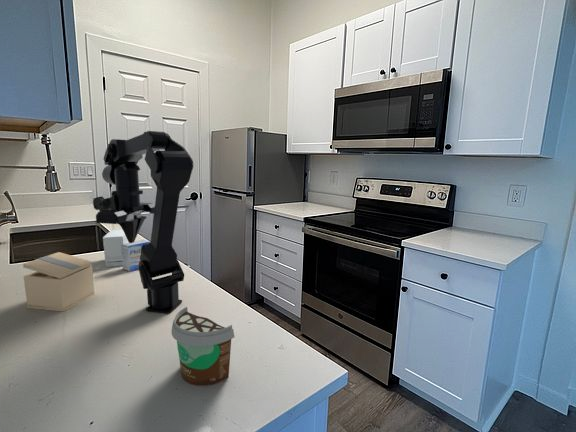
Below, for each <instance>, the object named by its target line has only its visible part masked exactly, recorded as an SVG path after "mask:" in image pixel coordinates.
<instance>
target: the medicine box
mask: <svg viewBox="0 0 576 432" xmlns="http://www.w3.org/2000/svg"><path fill="white" fill-rule="evenodd" d="M150 242H151V240H145V239H142V240H135V241H134V242H133V243H125V244H121V248H122V260H123V266H122V269H123V270H125V271H128V272H133V271H137V270H138V266H139V262H140V256H141V247H142V245H145V244H149V243H150ZM138 271H139V270H138Z"/></svg>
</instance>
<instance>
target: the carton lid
mask: <svg viewBox="0 0 576 432" xmlns="http://www.w3.org/2000/svg"><path fill="white" fill-rule="evenodd" d="M88 266H93V261H90V260H88V259H84V258H81V257H77V256H73V255H71V254H66V253H65V252H60V251H57V252H55V253H51V254H48V255H45V256H41V257H38V258H37V259H34V260H31V261H28V262H25V263H23V264H22V268H24V269H28V270H31V271H34V272H40V273H43V274H47V275H50V276H53V277H57V278H63V277H65V276H67V275H70V274H72V273H74V272H77V271H79V270H81V269H84V268H86V267H88Z"/></svg>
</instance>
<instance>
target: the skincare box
mask: <svg viewBox="0 0 576 432" xmlns="http://www.w3.org/2000/svg"><path fill="white" fill-rule="evenodd" d="M102 243H103V251H104V252H103V253H104V262H105V268H108V267H109V268H111V267H123V260H122V248H121V244H125V243H129V242H128V240H127V238H126V235H125V233H124V231H123V229H117V230H116V229H115V230H109V231H108V233H106V234H105V235H104V236H103V237H102Z"/></svg>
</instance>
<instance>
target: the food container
mask: <svg viewBox="0 0 576 432" xmlns="http://www.w3.org/2000/svg"><path fill="white" fill-rule="evenodd" d="M170 331H171V332H170V333H171V336H172V338H173V339H174V340H175V341H176V344H177V345H176V346H177V352H178V358H179V365H180V373H181V378H182V379H183V380H184V381H185V382H186V383H187V384H190V385H192V386H193V385H194V386H197V387H198V386H199V387H203V386H204V387H205V386H206V387H207V386H211V385H215V384H219V383H221V382H223V381H225V380H226V379H228V378H230V377H229V376H230V364H231V363H230V361H231V350H232V339H234V338H235V331H234V328H233V324H231V325H227V326H226V327H225V326H222V325H220V324H218V323H216V322H215V321H213V320H212V319H209V318H208V317H204V316H200V315H199V316H198V315H196V314H194V313H191V312H189V311H188V306H185V307H184V308H182V309H180V310H179V311H178V312H176V314H175V316H174V318H173V321H172V325H171V330H170Z"/></svg>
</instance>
